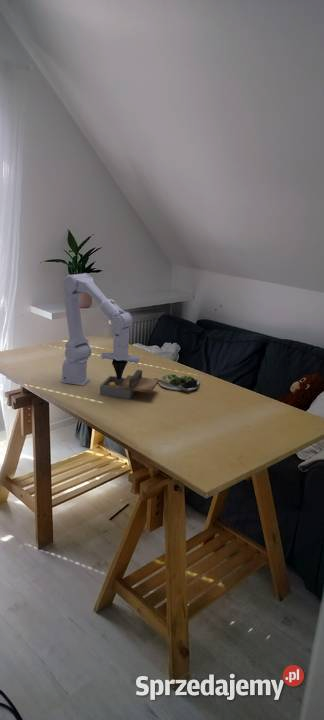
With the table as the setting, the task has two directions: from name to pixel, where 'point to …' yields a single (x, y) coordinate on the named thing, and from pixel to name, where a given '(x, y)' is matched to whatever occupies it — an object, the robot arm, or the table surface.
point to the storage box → (115, 388)
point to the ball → (112, 384)
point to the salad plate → (179, 383)
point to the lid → (138, 383)
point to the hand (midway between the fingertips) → (119, 378)
